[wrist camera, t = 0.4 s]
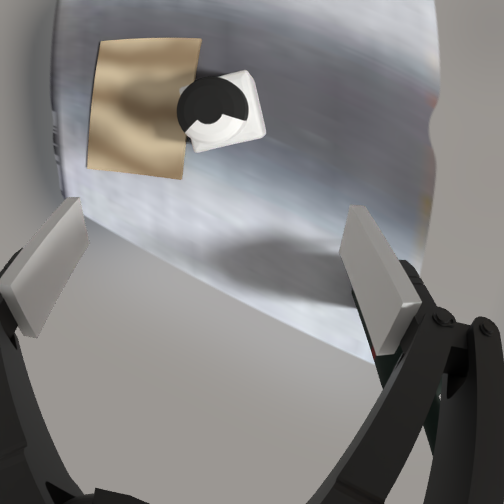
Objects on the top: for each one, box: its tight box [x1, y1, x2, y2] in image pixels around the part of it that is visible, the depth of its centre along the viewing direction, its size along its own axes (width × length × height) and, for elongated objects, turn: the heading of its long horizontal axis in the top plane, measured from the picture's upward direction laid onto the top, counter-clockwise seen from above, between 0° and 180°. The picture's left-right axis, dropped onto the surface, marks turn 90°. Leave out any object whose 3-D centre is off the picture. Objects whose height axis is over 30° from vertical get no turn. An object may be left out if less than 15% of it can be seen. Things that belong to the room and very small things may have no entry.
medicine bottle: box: [177, 70, 266, 153], centre depth 30 cm, size 7×7×12 cm
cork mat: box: [87, 38, 202, 180], centre depth 36 cm, size 18×14×1 cm
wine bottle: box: [352, 288, 442, 455], centre depth 29 cm, size 8×10×30 cm
